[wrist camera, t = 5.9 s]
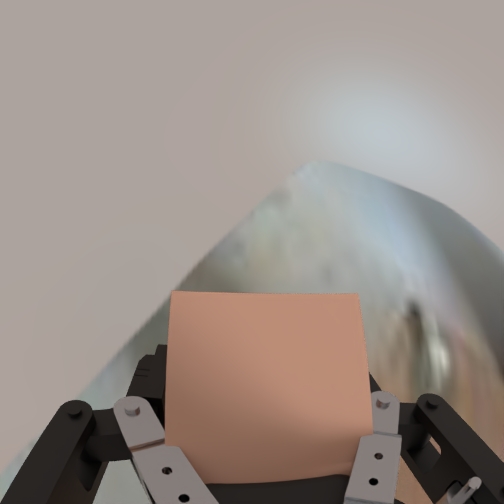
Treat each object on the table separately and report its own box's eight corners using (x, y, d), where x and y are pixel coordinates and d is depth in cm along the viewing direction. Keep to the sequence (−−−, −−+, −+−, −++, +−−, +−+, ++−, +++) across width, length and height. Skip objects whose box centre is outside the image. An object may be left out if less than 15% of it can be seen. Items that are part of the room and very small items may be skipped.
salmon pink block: (195, 356, 17) (171, 290, 9) (289, 357, 18) (358, 293, 9) (194, 448, 14) (165, 487, 6) (293, 446, 15) (374, 473, 6)
